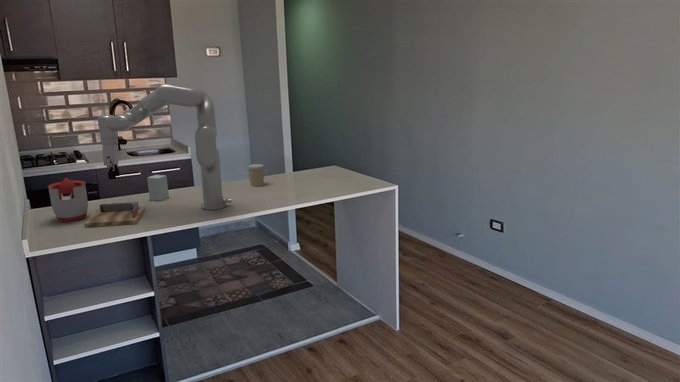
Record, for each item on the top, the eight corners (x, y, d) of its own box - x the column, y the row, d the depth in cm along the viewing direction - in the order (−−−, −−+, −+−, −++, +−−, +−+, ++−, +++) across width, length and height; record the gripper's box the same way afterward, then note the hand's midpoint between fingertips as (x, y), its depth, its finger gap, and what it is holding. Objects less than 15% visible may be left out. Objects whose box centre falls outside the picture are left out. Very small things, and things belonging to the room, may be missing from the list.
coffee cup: (268, 184, 290) (267, 164, 287) (257, 187, 282) (256, 167, 279) (256, 182, 295) (255, 163, 292) (246, 185, 287) (244, 166, 284)
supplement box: (169, 197, 263) (167, 175, 260) (160, 201, 256) (157, 178, 253) (158, 196, 266) (155, 174, 262) (149, 200, 259) (146, 177, 256)
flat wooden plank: (146, 210, 240) (144, 199, 239) (136, 224, 220) (135, 212, 218) (99, 213, 237) (97, 202, 235) (84, 227, 216) (83, 216, 214)
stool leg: (139, 207, 237) (138, 201, 236) (138, 209, 234) (137, 203, 233) (101, 209, 234) (100, 204, 233) (99, 211, 231) (98, 205, 230)
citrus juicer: (51, 226, 217) (43, 184, 212) (55, 216, 233) (48, 176, 228) (89, 222, 223) (83, 180, 218) (91, 212, 239) (85, 172, 234)
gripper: (106, 138, 238) (110, 174, 242) (95, 144, 221) (101, 182, 226) (122, 138, 239) (126, 173, 243) (112, 143, 223) (118, 181, 227)
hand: (114, 177), depth 235 cm, fingers open, 5 cm apart
